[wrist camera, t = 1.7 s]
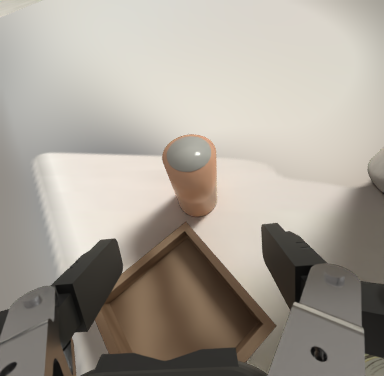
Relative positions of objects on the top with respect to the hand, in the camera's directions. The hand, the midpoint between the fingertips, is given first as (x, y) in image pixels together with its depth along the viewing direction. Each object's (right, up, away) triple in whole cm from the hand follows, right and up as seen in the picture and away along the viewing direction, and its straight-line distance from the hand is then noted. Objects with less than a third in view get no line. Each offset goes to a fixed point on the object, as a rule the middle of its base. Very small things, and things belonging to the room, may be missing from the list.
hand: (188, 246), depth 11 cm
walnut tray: (-1, -10, +11) cm, 15 cm away
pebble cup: (+1, +2, +18) cm, 18 cm away
